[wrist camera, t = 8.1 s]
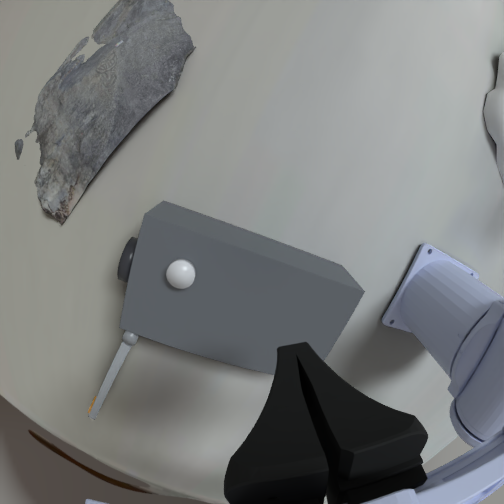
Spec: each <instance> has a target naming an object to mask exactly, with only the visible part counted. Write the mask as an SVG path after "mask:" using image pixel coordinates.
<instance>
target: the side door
mask: <svg viewBox="0 0 504 504" xmlns="http://www.w3.org/2000/svg"><path fill="white" fill-rule="evenodd" d="M138 337H139V335H137V334H134V333H132V332H129V331H127V330H126V331H125V333H124V335H123V337H122V339H123V342H122V344H121V346H120V348H119V350H118V352H117V354H116V356H115V358H114V360H113V362H112V364H111V367H110V369H109V371H108V373H107V375H106V377H105V379H104V382H103V384H102V386H101V388H100V391H99V393H98V395H97V397H96V396H95V397H94V400H93V402H92V404H91V406H90V408H89V411H88V413H89V416H88V417H90V418H92V419H94V420H95V418H96V416H97V414H98V412H99V410H100V408H101V406H102V404H103V402H104V399H105V397H106V395H107V393H108V391H109V389H110V387H111V385H112V383H113V381H114V379H115V377H116V375H117V373H118V371H119V369H120V367H121V365H122V363H123V361H124V359H125V358H126V356H127V354H128V352H129V350H130V348H131V346H132V345H135V343H136V341H137V339H138Z"/></svg>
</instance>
